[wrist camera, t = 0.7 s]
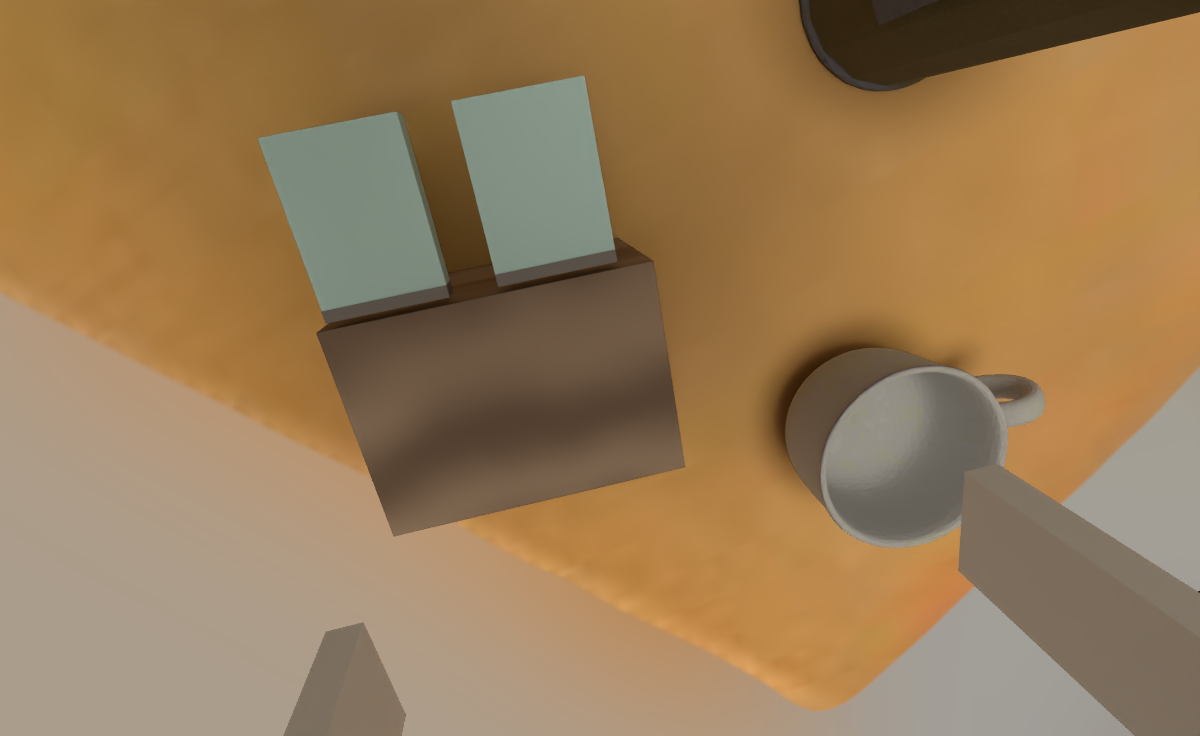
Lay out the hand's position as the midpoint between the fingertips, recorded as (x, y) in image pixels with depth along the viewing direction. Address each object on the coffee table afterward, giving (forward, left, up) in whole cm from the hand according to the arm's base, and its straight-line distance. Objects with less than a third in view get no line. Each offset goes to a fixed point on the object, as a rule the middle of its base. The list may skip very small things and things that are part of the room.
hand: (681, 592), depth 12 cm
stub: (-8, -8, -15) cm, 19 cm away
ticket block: (0, -4, -23) cm, 23 cm away
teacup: (+9, +18, -23) cm, 30 cm away
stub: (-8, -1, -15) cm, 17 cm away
